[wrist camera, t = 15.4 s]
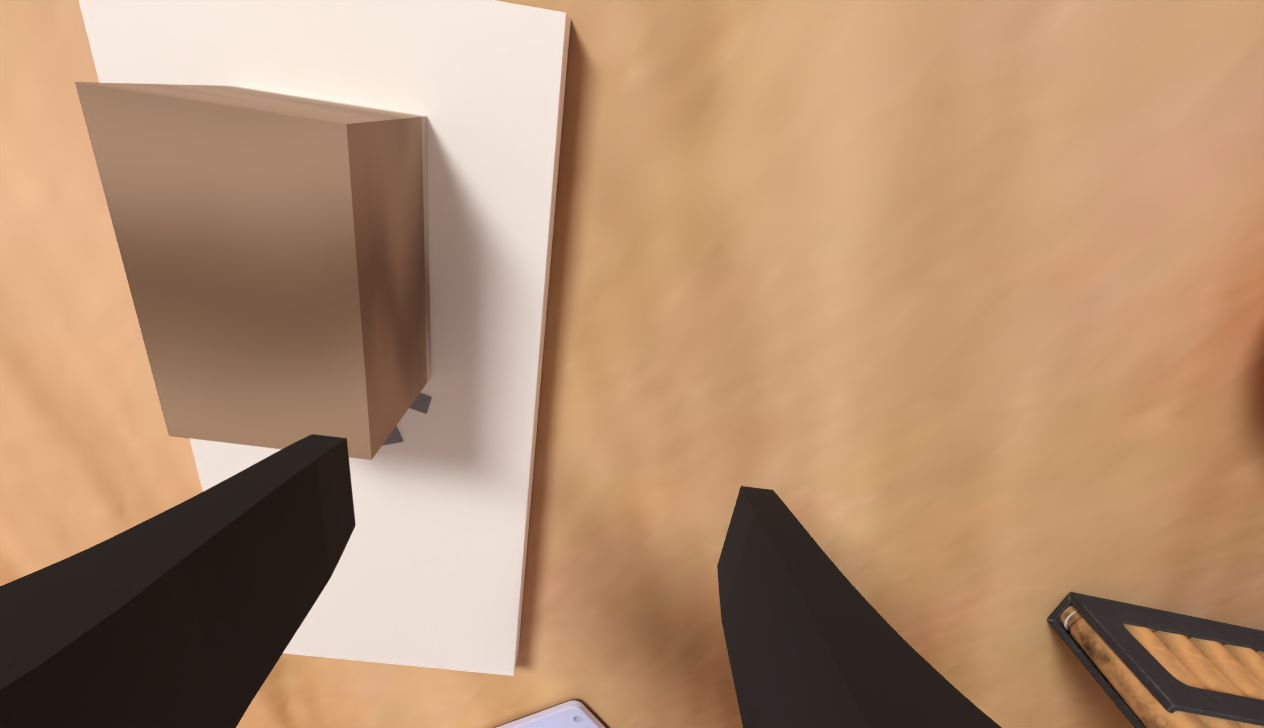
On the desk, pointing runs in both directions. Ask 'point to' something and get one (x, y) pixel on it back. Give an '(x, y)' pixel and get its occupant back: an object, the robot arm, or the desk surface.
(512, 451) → the plank
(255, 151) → the block
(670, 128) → the desk surface
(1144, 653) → the ammunition clip
